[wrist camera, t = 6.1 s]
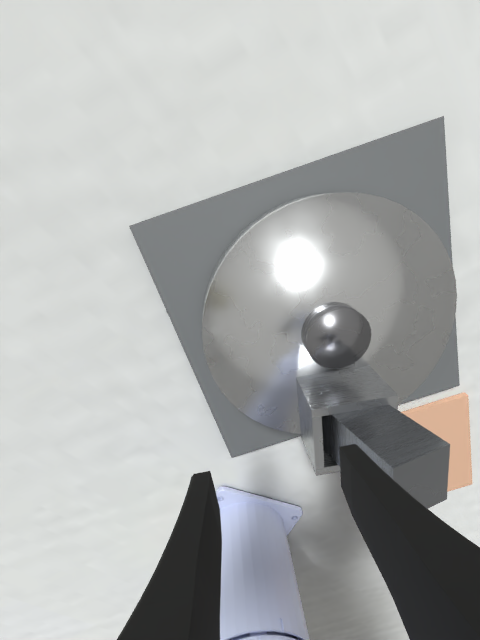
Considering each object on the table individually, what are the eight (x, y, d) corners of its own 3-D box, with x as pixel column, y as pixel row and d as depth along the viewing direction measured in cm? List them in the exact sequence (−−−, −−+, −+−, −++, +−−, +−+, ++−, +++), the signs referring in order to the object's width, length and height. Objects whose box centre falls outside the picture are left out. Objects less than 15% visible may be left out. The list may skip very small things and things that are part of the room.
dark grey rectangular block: (308, 394, 18) (393, 468, 12) (351, 380, 19) (450, 444, 13) (312, 436, 19) (392, 525, 13) (353, 421, 20) (446, 499, 14)
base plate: (453, 381, 24) (459, 385, 23) (231, 451, 24) (231, 457, 24) (436, 118, 17) (443, 115, 17) (131, 225, 18) (129, 226, 17)
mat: (468, 480, 28) (472, 484, 27) (362, 512, 28) (364, 517, 28) (464, 392, 24) (468, 395, 24) (341, 431, 24) (343, 434, 24)
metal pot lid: (180, 214, 17) (167, 220, 12) (445, 174, 17) (535, 164, 12) (223, 430, 22) (226, 494, 18) (423, 396, 23) (480, 448, 18)
